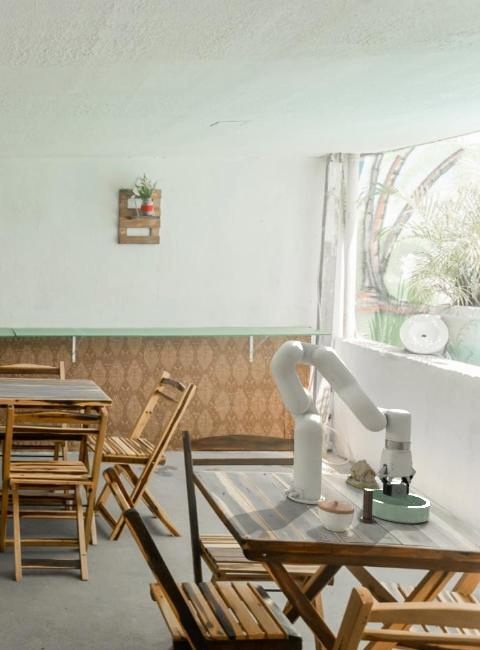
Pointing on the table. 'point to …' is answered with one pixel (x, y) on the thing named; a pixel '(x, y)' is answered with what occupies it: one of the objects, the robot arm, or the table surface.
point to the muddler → (367, 507)
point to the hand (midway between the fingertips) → (395, 493)
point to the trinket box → (335, 514)
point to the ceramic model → (362, 476)
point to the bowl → (400, 508)
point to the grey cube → (398, 489)
